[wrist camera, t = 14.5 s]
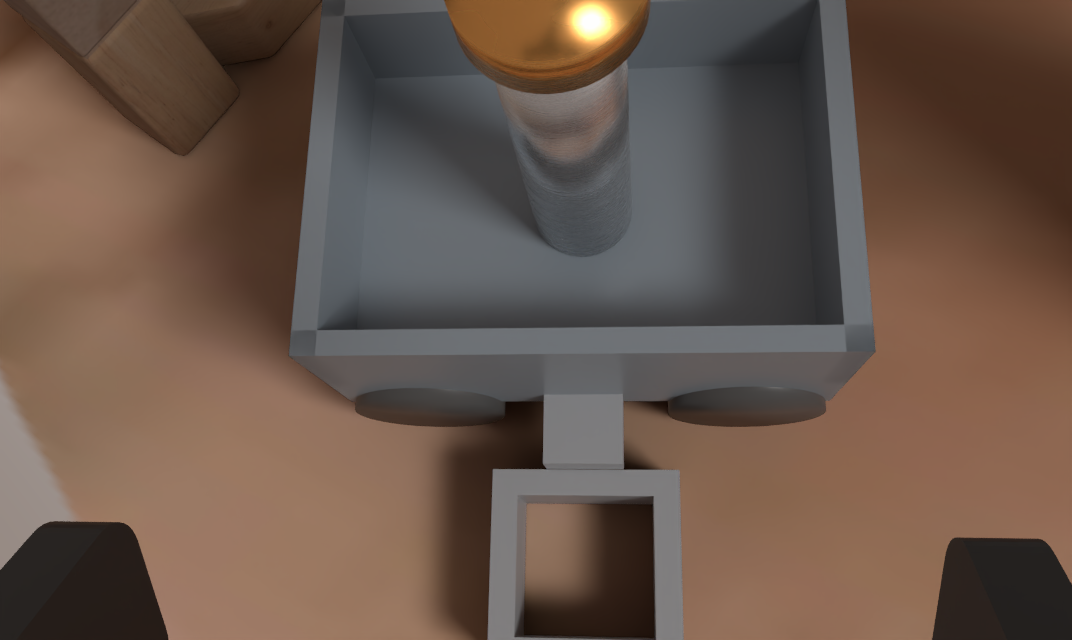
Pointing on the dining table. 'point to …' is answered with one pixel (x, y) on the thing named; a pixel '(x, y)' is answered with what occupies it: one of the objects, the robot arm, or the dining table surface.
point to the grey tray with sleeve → (586, 282)
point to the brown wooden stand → (165, 53)
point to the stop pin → (563, 106)
